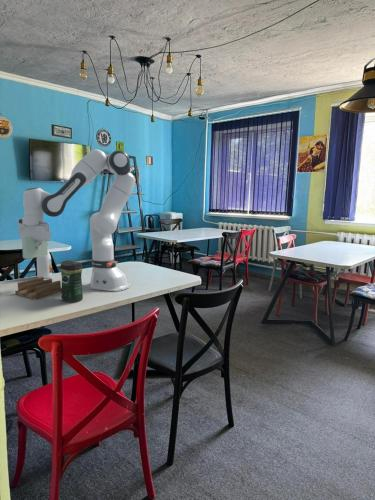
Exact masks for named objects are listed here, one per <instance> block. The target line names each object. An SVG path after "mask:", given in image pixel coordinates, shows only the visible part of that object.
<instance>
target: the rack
mask: <svg viewBox="0 0 375 500" xmlns="http://www.w3.org/2000/svg"><path fill="white" fill-rule="evenodd" d="M59 293H62V280H56V281H53V279H52V278H46V279H45V278H44V277H40V278H38V277H37V278H33V279H28V280H23V281H20V282H17V290H15V293H14V294H15V295H18V296H20V297H24V298H25V297H26V298H30V299H33V300H35V301H36V300H40V299H43V298H47V297H50V296H52V295H55V294H56V295H57V294H59Z"/></svg>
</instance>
